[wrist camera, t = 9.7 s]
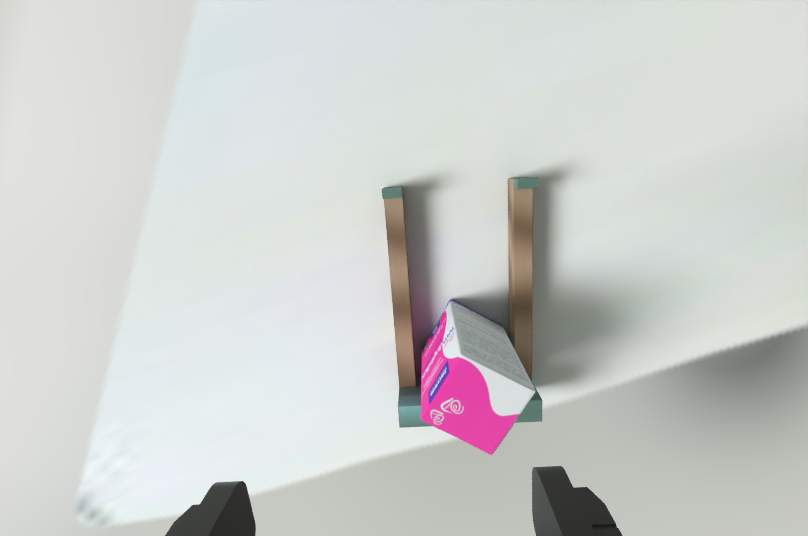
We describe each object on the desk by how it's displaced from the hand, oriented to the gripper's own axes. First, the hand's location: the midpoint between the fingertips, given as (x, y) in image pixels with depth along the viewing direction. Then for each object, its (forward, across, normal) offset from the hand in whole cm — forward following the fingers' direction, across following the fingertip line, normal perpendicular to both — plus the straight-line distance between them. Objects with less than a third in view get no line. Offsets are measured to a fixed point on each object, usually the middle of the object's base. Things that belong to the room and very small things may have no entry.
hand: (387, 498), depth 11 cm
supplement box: (+25, -4, +7) cm, 26 cm away
